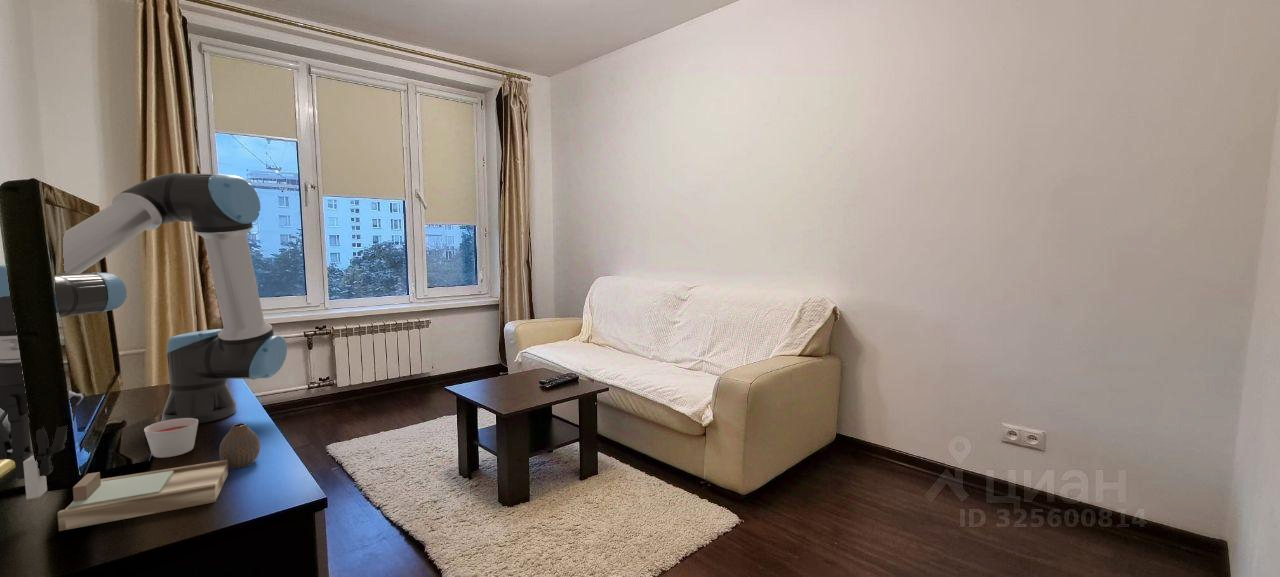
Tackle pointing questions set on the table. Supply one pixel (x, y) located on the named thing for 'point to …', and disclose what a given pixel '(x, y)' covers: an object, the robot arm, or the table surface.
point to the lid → (116, 488)
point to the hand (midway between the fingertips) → (37, 494)
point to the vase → (239, 446)
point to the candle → (171, 437)
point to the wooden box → (154, 496)
